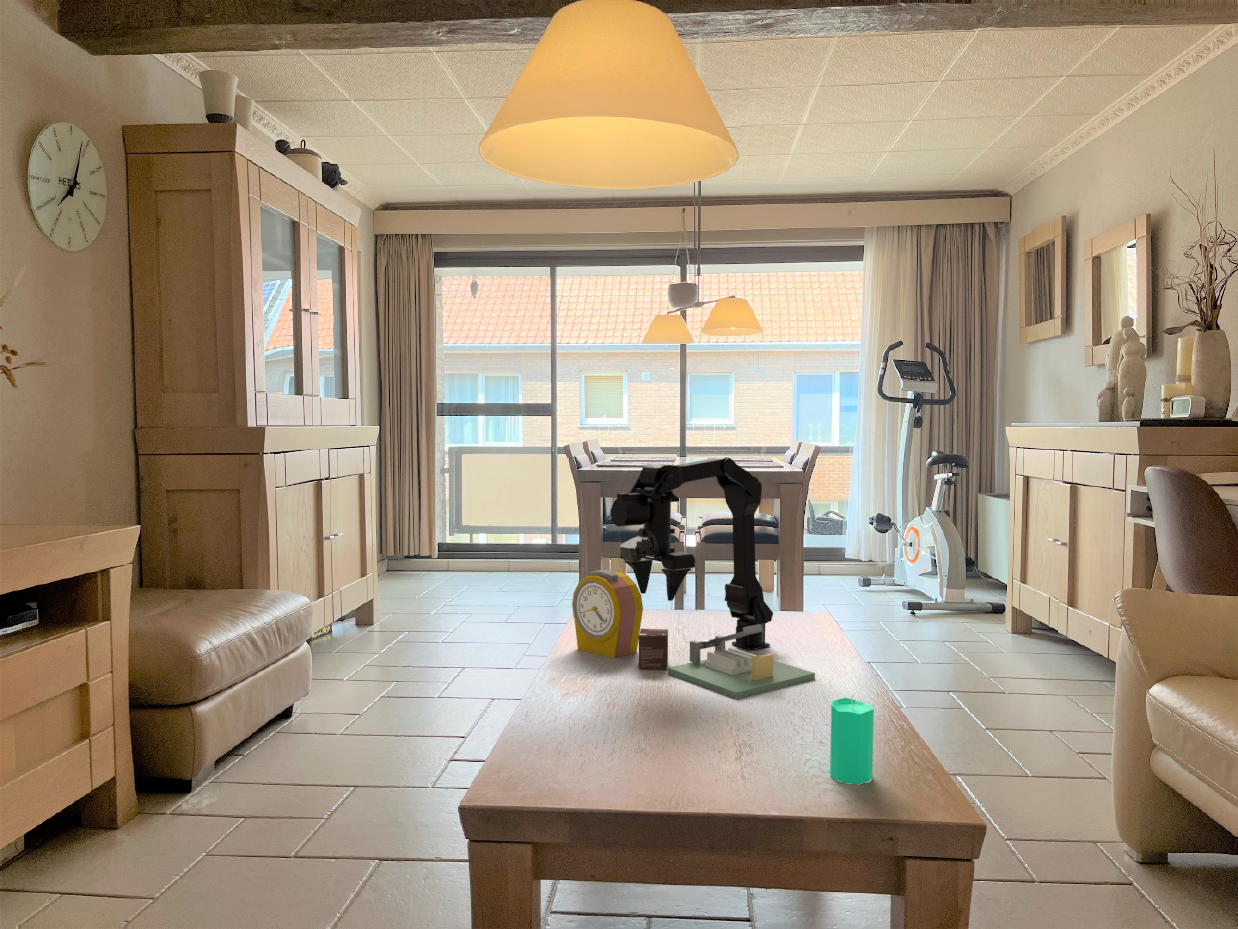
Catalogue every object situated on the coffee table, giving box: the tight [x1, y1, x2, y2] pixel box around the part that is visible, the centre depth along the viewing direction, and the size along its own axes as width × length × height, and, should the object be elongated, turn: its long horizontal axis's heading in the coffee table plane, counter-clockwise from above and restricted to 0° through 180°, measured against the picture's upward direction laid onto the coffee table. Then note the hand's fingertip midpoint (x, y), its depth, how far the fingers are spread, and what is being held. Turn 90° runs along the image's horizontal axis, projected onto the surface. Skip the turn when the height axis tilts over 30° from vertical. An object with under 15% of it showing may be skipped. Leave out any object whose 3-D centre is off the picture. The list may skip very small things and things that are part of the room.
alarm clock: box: [571, 569, 644, 659], centre depth 190 cm, size 15×8×18 cm, turn 47°
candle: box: [829, 694, 875, 784], centre depth 121 cm, size 6×6×12 cm
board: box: [667, 635, 816, 700], centre depth 171 cm, size 22×21×6 cm
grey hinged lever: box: [699, 624, 763, 650], centre depth 173 cm, size 5×16×2 cm, turn 36°
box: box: [638, 628, 669, 671], centre depth 178 cm, size 6×6×7 cm
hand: (656, 597), depth 177 cm, fingers open, 9 cm apart
